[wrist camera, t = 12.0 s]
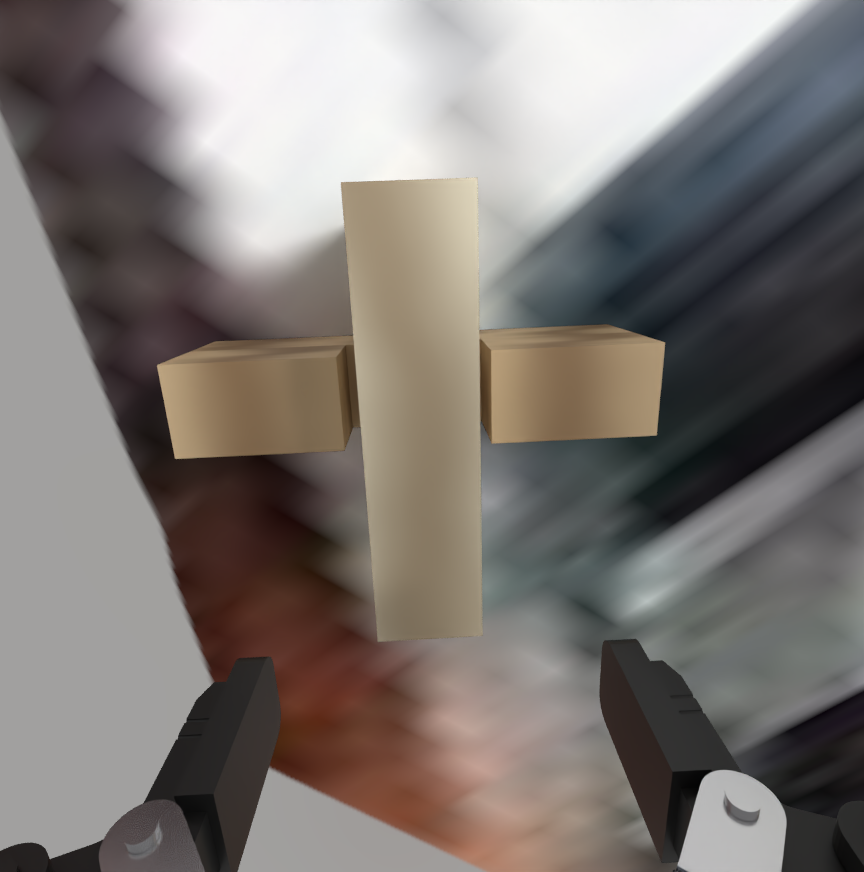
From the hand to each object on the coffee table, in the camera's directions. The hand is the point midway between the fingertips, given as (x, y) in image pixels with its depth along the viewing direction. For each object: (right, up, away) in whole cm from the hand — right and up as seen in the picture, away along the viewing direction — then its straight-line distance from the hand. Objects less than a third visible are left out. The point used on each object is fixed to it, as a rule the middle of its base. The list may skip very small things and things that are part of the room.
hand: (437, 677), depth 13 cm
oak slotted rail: (-1, +9, +12) cm, 15 cm away
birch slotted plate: (-1, +9, +12) cm, 15 cm away
